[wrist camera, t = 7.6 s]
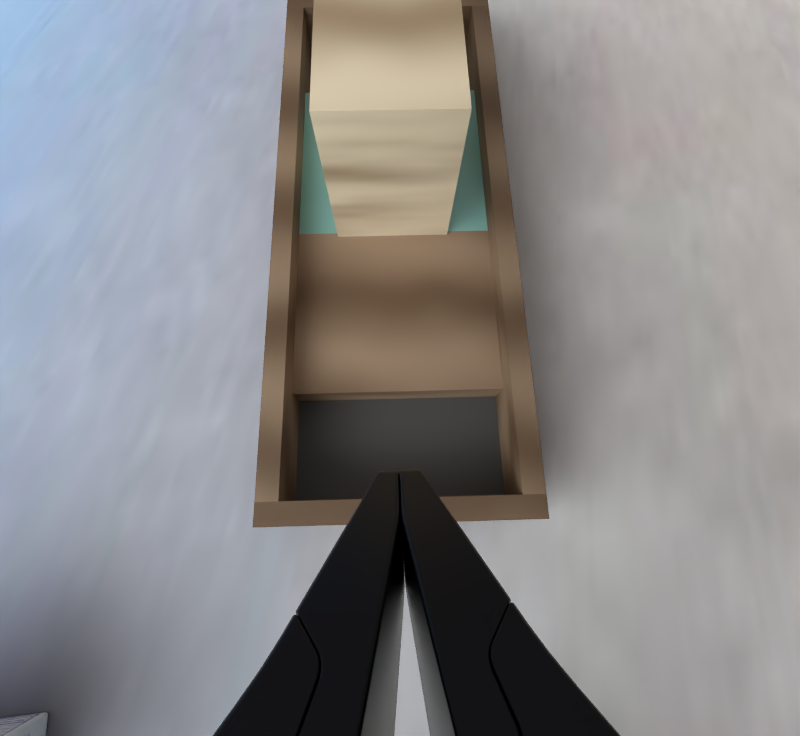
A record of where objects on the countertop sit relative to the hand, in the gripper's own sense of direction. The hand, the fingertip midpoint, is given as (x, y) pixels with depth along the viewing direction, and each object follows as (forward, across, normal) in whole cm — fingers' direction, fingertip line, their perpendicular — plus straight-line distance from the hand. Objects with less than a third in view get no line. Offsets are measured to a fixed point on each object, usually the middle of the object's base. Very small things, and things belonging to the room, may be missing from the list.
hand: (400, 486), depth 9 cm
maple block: (+21, 0, -5) cm, 21 cm away
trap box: (+20, 0, -1) cm, 20 cm away
